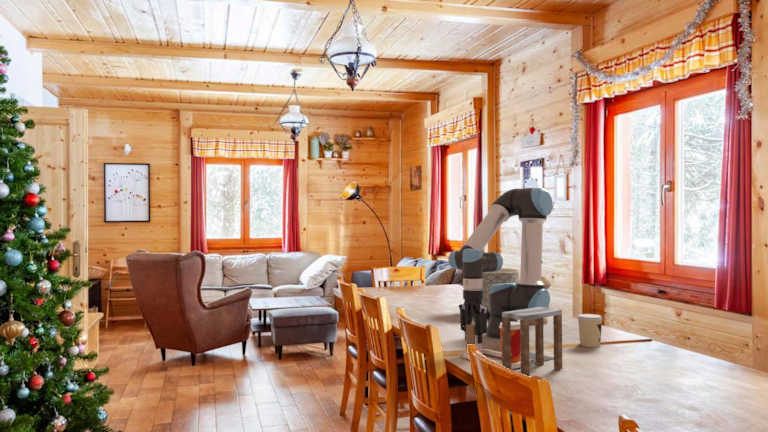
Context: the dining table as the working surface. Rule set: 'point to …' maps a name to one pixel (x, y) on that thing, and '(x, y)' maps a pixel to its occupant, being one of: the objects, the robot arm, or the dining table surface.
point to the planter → (497, 282)
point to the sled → (471, 340)
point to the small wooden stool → (524, 318)
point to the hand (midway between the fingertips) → (473, 350)
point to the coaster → (533, 357)
